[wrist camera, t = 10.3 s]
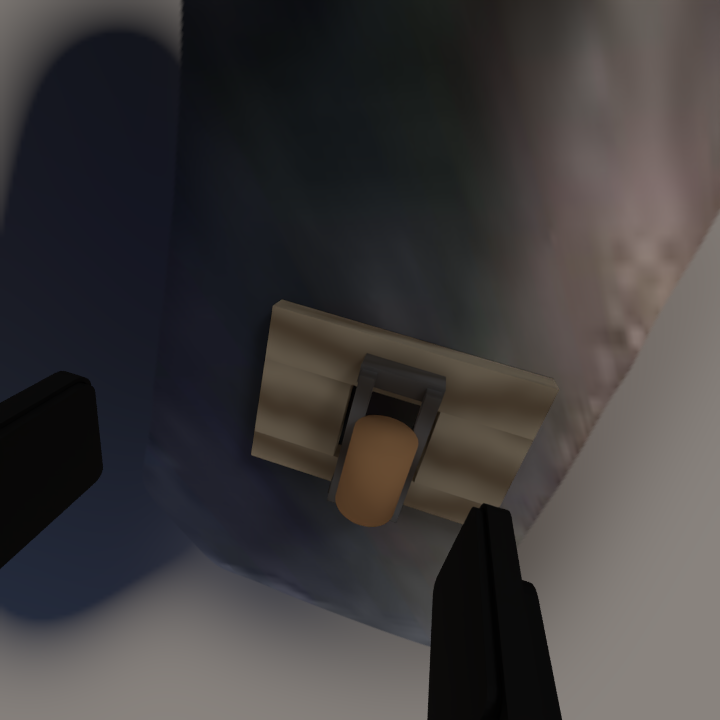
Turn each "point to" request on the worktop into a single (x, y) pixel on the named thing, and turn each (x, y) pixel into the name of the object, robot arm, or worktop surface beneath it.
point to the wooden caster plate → (405, 382)
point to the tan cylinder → (375, 469)
